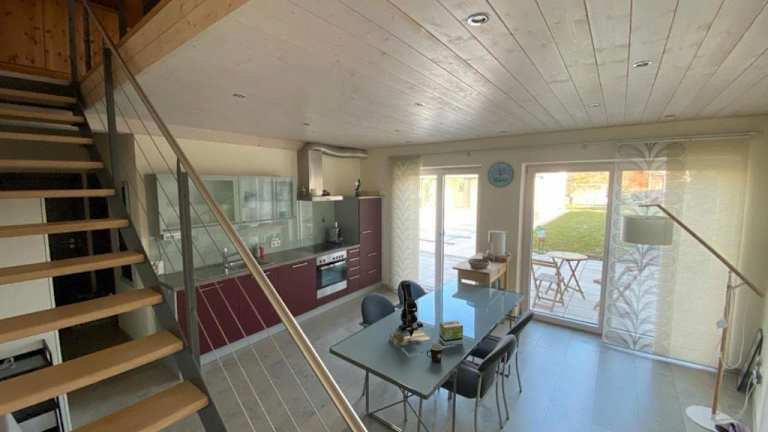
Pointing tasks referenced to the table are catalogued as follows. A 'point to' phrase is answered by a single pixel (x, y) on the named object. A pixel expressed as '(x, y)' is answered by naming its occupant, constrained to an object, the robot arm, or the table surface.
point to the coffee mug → (436, 352)
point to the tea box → (451, 333)
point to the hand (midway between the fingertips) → (410, 336)
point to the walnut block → (399, 337)
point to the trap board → (409, 338)
